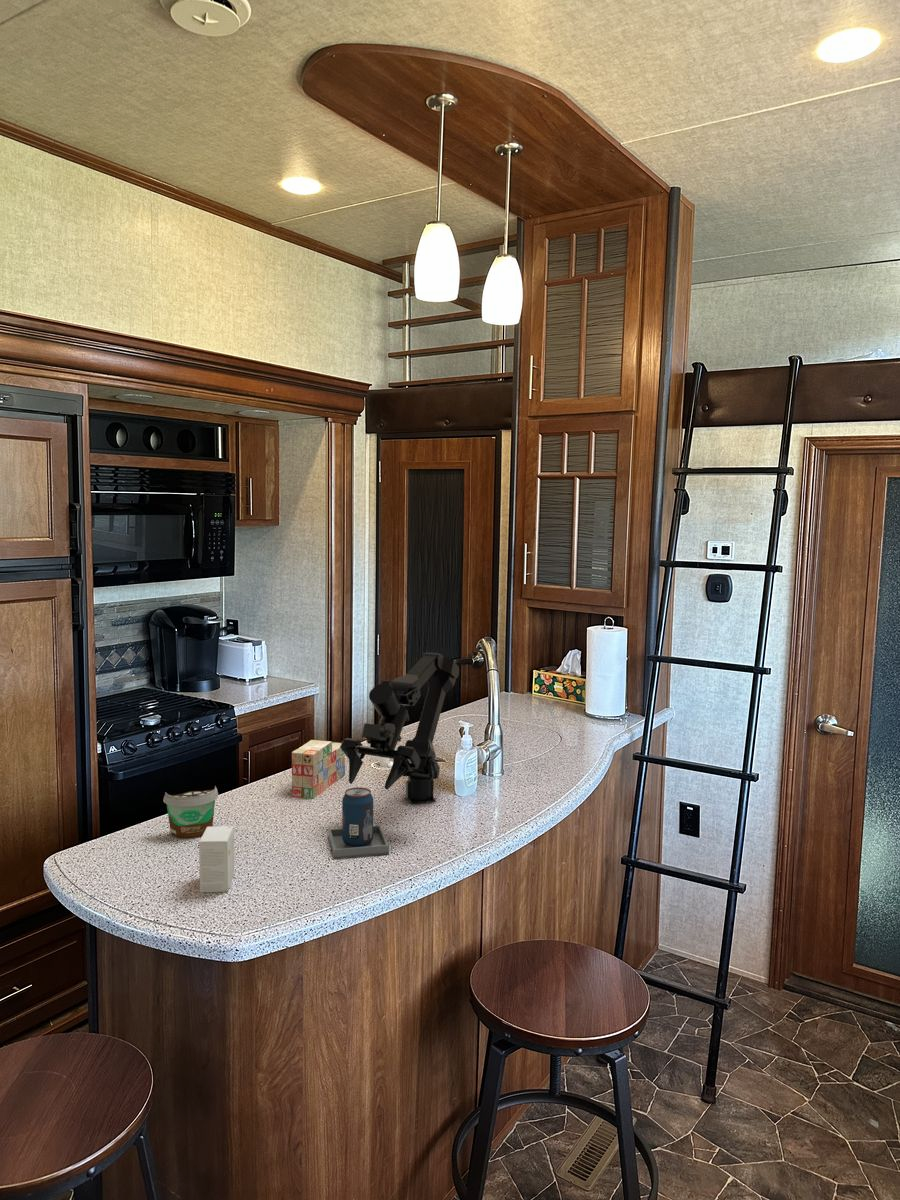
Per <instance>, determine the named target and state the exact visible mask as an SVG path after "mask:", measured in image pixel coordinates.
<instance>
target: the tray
mask: <svg viewBox="0 0 900 1200" xmlns="http://www.w3.org/2000/svg"><path fill="white" fill-rule="evenodd" d="M327 833H328V842H329V845H330V849H331V853H332V856H333V857H332V858H333V859H334V860H337V859H338V860H339V859H348V858H360V857H362V858H363V857H372V856H383V855H390V845H389V844H390V843H388V839H387V838H386V835H385V833H384V830H383V828H382V827H381V825H380V824H379V825H378V824H377V825H373V840H372V841H371V843H370V845H368V846H365V847H354V848H350V847H348V846H346V845H345V843H344V841H343V839H342V827H341V828H340V827H339V828H329V829H328V831H327Z"/></svg>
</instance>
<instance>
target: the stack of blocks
mask: <svg viewBox="0 0 900 1200" xmlns="http://www.w3.org/2000/svg"><path fill="white" fill-rule="evenodd" d="M341 743H342V742H333V741H329V740H318V739H317V740H316V739H310V740H309V741H308V742H306V743H304V744H303V745H302V746H300V747H299V748H297V749H295V750H293V751H292V752H291V796H292V797H293V798H300V799H310V800H314V799H315V798H317V797H318V796H320V795H322V794H323V793H324V792H325V791H327V789H328V788H330V787H331V786H332V785H333V784H335V783H336V782H337V781H339V780H341V778H342V777H344V776H345V775H346V755H345V753H344V752H343V751H342V749H341V748H340V746H341Z"/></svg>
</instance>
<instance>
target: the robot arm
mask: <svg viewBox="0 0 900 1200" xmlns="http://www.w3.org/2000/svg"><path fill="white" fill-rule="evenodd" d="M459 675H460V667H459V665H458V664H457V663H456V662H455V661H454V660H451V659H449V658H447V657H445V656H443V654H440V653H439V652H438V653H437V652H427V651H426V652H425V653H422V655H421V657H420V659H419V660H418V661H417V662H416V663H415V665H413V666H412V668H410V670H409V671H408V672H407V673H405V675H402V676H398V677H396V678H394V679H393V680H385V679H383V680H381V683H380V684H377V685H375V686H374V687H373V688H372V689H371V690H370V691H369V694H368V698H369V700H370V702H371V704H372V706H373V708H375V711H376V712H377V713H378V715H379V716H381V718H380V720H379V722H378V723H376V722H375V724H373V723H364V724H363V728H362V733H361V738H365V739H366V742H367V744H368V745H370V746H368V745H363V743H362V742H361V740H360V739H359V738H358V739H357V738H351V737H350V738H349V737H345V738H344V739H343V740H342V741H341V742H340V743H341V746H340V748H341V749H342V751H343V752H344V754H345V757H347V758H348V763H349V767H348V769H349V770H348V782H349V784H353V783H354V782H355V780H356V778H357V775H358V773H359V771H360V769H362V768H361V767H362V766H363V764H364V763H363V762H364V761H363V759H364V758H365V756H366V755H367V756H374V757H377V756H378V758H379V757H385V758H389V759H392V760H393V761H392V762H393V766H392V768H391V769H390V771H389V773H388V776H387V778H386V781H385V784H384V789H385V790H389V789H390V788H391V787H392V786H393V785H394V784H395V783H396V782H398V780H399V779H400V778H401V777H407V780H406V781H405V796H406V798H407V800H408V801H409V803H410V804H420V803H421V804H422V803H423V804H424V803H434V802H436V799H435V797H434V790H435V789H434V780H438V779H439V775H440V771H441V770H440V769H441V768H440V765H439V763H438V762H437V760H436V756H437V755H436V751H435V748H434V744H433V743H434V739H435V735H436V731H437V727H438V723H439V720H440V718H441V717H440V716H441V712H442V708H443V705H444V700H445V697H446V694H447V693H448V692H449V691H450V690H451V689H453V687H454V686H455V684H456V681H457V679H458V677H459ZM426 683H427V685H428V690H427V693H426V697H425V700H424V703H423V704H424V705H423V706H422V711H421V714H420V717H419V722H418V725H417V727H416V728H417V730H416V732H415V736H414V737H413V739H408V740H406V742H405V743H404V744H405V745H398V747H397V744H398V742H399V743H400V742H401V740H402V736H401V733H402V731H403V728H404V726H405V723H406V722H409V721H410V715H409V712H408V710H407V708H406V707H405V706H409V707H410V706H411V707H413V706H415V705H416V704H417V702H419V699H420V698H421V696H422V695H421V691H420V690H421V688H422V687H423V686H424V685H425V684H426ZM396 747H397V748H396Z"/></svg>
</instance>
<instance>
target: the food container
mask: <svg viewBox="0 0 900 1200" xmlns="http://www.w3.org/2000/svg"><path fill="white" fill-rule="evenodd" d="M163 796H164V797H163V803H164V804H166V809H167V815H168V823H169V831H170V835H171V836H172V837H175V838H177V839H183V840H184V839H186V840H188V839H197V838H201V837H202V835H203V834H204V832H205V830H206V828H207V827H214V825H213V824H214V818H215V817H214V816H215V813H214V812H215V807H216V806H215V805H216V800H217V799H218V798H219V792H218V788H217V786H216V785H215V786H214V789H213V788H212V789H209V790H208V789H207V790H190V791H186V792H183V793H179V794H173V795H171V794H168V793H167V792H164V795H163Z"/></svg>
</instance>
